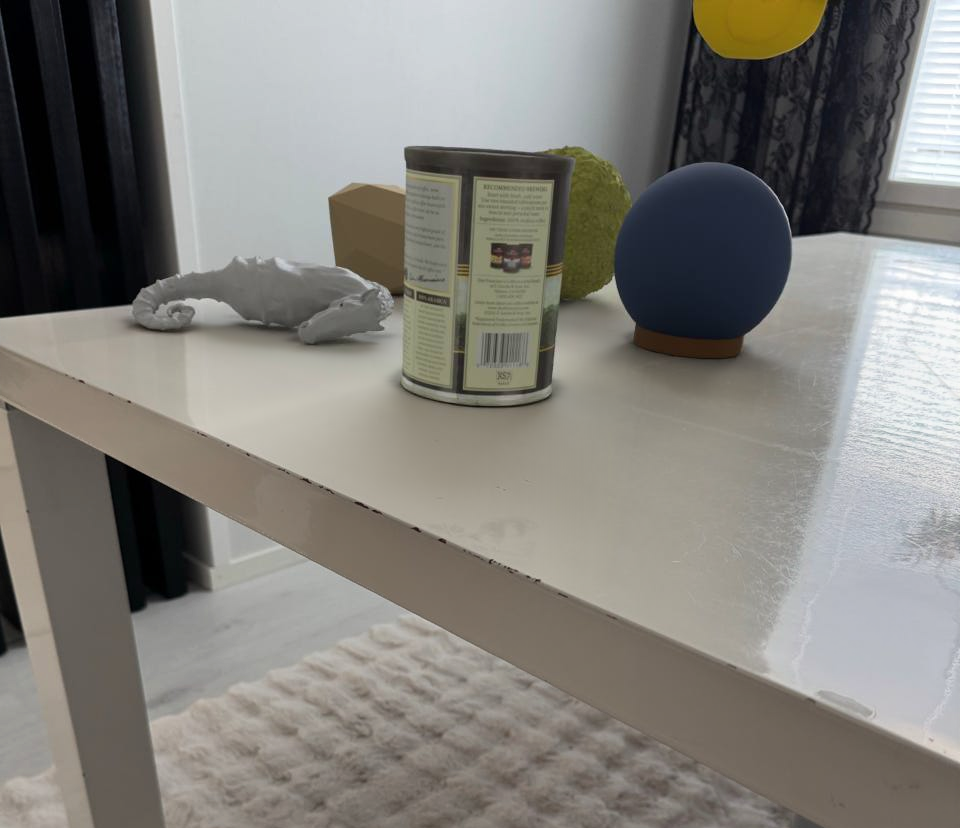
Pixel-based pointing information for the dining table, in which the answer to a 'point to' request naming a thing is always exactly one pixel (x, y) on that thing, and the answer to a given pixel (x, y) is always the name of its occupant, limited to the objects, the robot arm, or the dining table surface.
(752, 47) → the duckling
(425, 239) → the coffee can
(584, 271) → the fruit
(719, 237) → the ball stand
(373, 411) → the dining table surface
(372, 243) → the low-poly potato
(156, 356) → the dining table surface
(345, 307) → the seahorse
